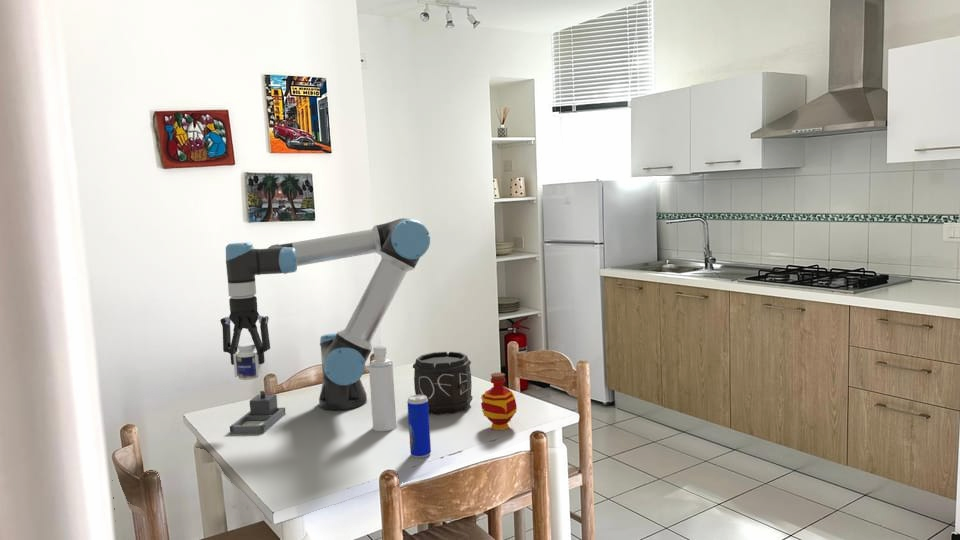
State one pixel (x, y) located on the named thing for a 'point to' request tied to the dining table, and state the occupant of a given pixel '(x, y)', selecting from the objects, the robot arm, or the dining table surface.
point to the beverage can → (419, 426)
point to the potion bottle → (498, 403)
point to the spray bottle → (382, 391)
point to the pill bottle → (246, 361)
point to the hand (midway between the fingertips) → (248, 375)
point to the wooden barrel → (444, 381)
